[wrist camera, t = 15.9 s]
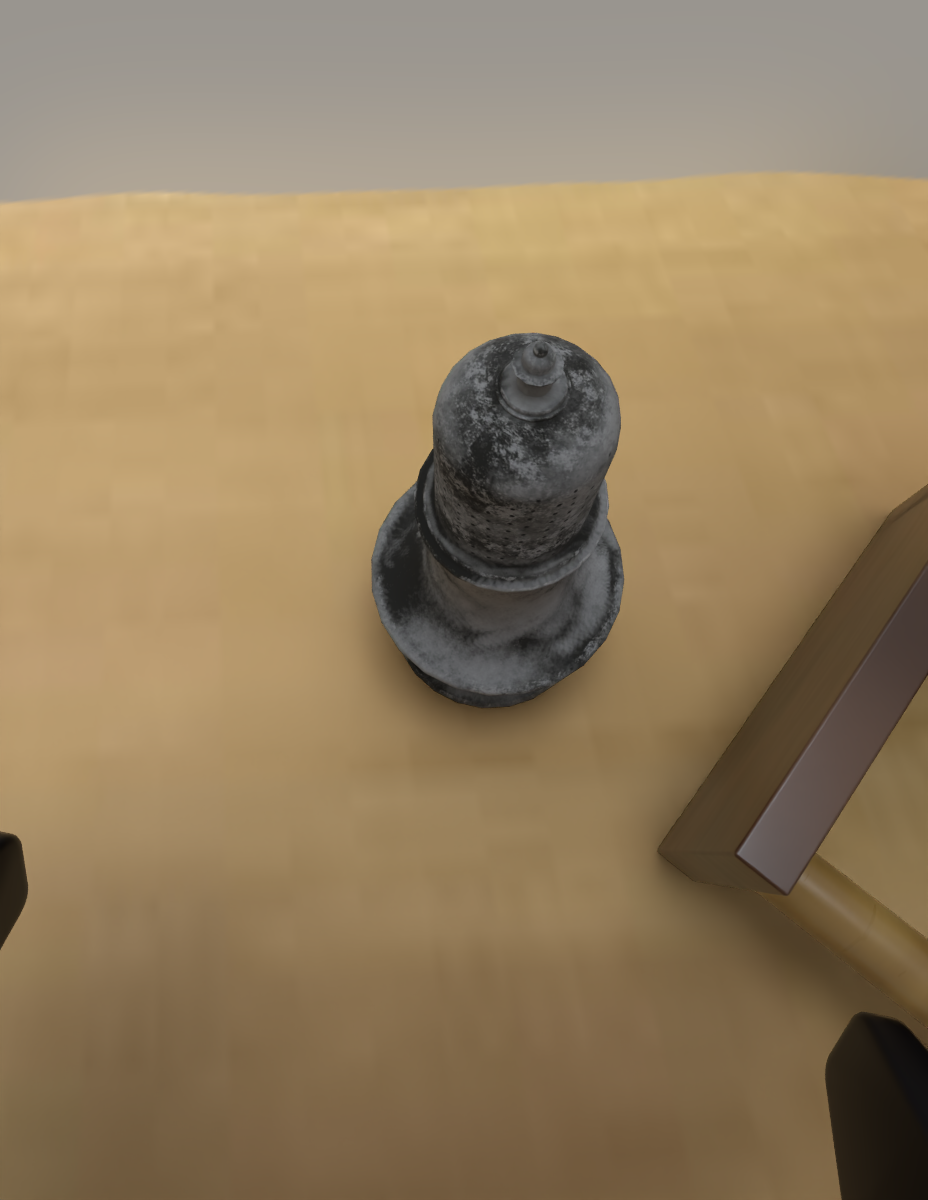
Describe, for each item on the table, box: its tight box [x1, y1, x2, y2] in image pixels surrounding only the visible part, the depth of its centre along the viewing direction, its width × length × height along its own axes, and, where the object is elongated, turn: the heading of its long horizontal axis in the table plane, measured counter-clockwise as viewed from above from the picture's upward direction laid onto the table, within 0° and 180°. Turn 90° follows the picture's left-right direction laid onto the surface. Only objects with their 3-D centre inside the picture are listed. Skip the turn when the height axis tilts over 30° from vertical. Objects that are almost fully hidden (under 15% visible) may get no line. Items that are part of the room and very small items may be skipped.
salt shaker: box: [371, 333, 624, 708], centre depth 15 cm, size 6×6×12 cm
